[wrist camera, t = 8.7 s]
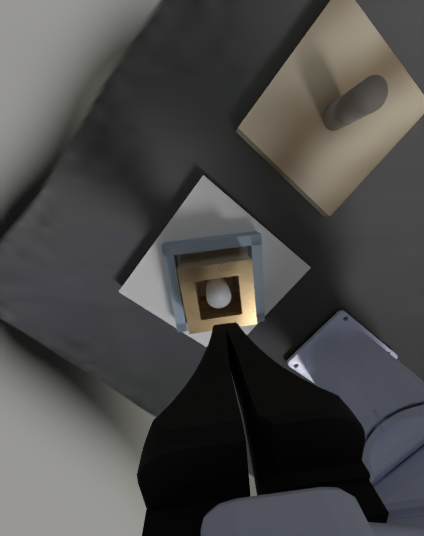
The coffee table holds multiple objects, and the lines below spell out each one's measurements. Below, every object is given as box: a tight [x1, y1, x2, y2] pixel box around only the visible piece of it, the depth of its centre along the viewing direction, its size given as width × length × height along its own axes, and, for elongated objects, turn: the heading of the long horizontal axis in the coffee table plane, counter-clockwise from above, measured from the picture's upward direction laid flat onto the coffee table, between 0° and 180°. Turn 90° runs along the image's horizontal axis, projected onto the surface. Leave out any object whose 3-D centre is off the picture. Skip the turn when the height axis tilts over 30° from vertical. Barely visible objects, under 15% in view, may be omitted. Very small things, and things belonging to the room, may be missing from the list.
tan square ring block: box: [177, 247, 257, 334], centre depth 17 cm, size 5×5×4 cm
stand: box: [236, 0, 424, 217], centre depth 14 cm, size 10×10×4 cm
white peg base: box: [119, 175, 311, 347], centre depth 18 cm, size 12×12×4 cm
